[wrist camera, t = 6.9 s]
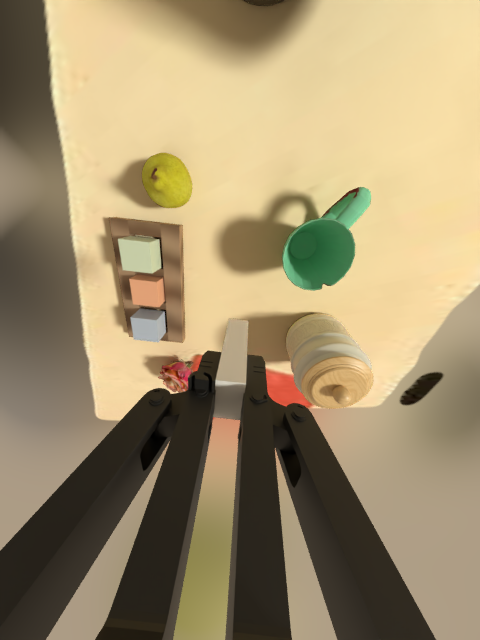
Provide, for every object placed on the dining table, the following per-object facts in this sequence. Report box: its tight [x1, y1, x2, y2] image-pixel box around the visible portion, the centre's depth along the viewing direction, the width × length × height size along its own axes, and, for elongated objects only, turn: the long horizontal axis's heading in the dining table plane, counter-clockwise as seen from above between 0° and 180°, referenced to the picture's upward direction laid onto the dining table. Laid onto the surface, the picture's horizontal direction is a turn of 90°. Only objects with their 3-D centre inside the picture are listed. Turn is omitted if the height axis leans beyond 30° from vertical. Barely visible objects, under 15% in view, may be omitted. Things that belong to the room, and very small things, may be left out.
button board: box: [109, 217, 185, 343], centre depth 42 cm, size 24×12×2 cm, turn 174°
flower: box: [158, 358, 193, 393], centre depth 50 cm, size 10×9×8 cm
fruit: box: [142, 153, 192, 208], centre depth 29 cm, size 7×7×12 cm
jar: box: [286, 313, 373, 409], centre depth 39 cm, size 13×13×18 cm
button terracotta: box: [129, 274, 166, 307], centre depth 41 cm, size 5×5×4 cm
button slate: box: [130, 309, 166, 342], centre depth 43 cm, size 5×5×4 cm
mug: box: [282, 187, 371, 291], centre depth 33 cm, size 15×10×10 cm
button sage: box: [118, 236, 161, 273], centre depth 36 cm, size 5×5×4 cm
